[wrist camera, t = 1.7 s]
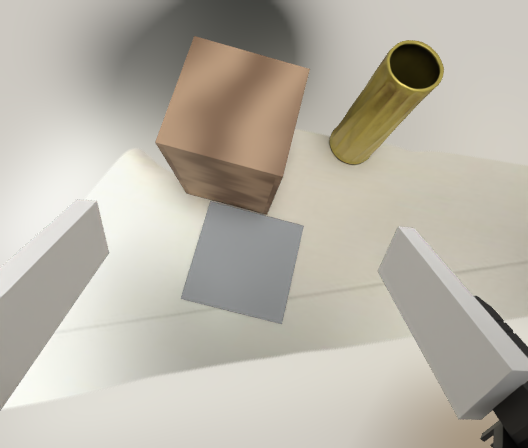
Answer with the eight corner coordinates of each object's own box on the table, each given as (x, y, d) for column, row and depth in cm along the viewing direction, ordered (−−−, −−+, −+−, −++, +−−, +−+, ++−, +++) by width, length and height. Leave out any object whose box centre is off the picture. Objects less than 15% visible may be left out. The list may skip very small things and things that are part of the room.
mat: (302, 226, 35) (303, 225, 35) (281, 323, 32) (281, 323, 32) (210, 202, 35) (210, 201, 34) (181, 298, 32) (180, 298, 32)
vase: (321, 151, 37) (371, 74, 23) (340, 116, 39) (397, 23, 25) (361, 172, 37) (435, 108, 23) (379, 136, 39) (458, 55, 25)
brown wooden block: (285, 141, 37) (309, 69, 24) (266, 214, 35) (282, 176, 22) (210, 120, 37) (194, 36, 24) (186, 193, 35) (155, 142, 22)
